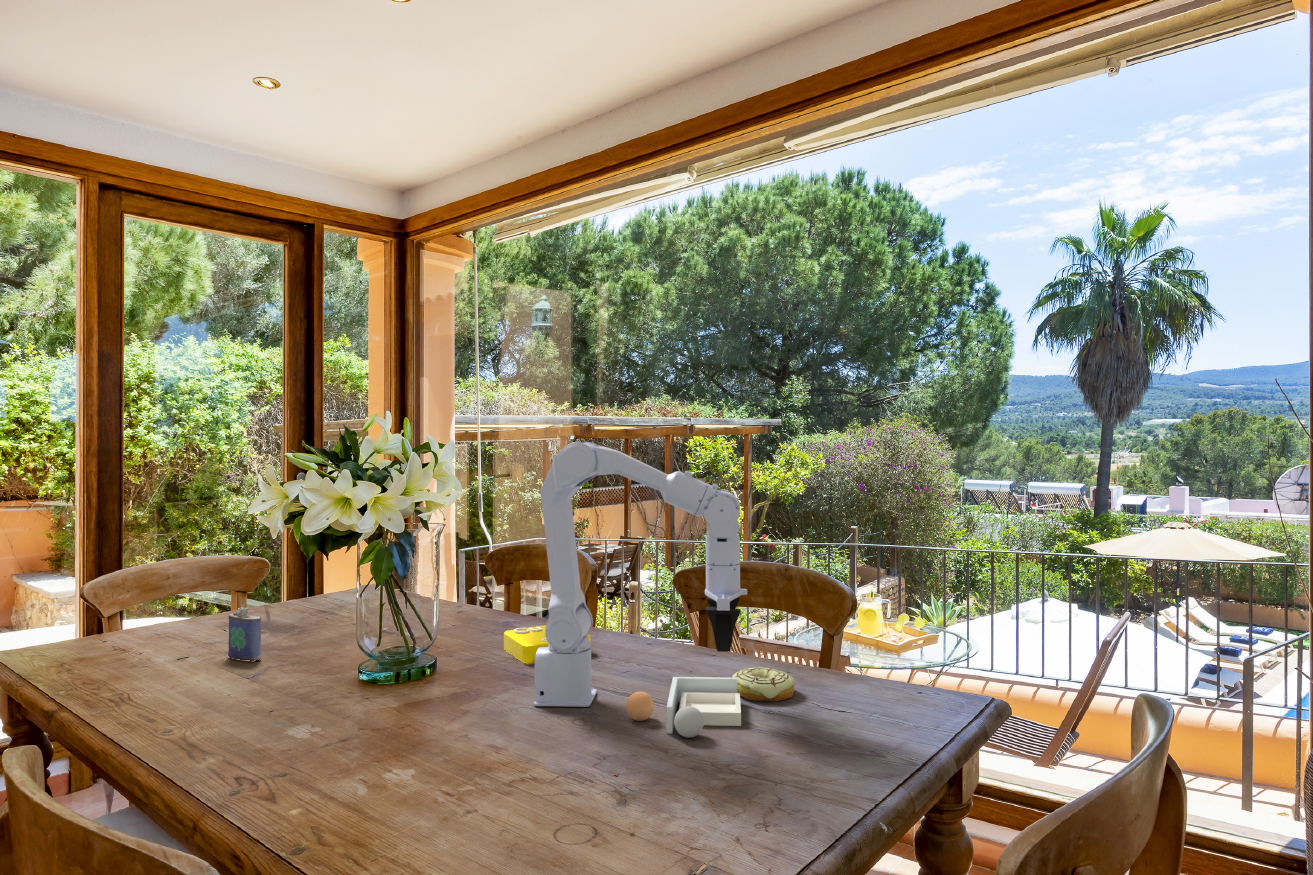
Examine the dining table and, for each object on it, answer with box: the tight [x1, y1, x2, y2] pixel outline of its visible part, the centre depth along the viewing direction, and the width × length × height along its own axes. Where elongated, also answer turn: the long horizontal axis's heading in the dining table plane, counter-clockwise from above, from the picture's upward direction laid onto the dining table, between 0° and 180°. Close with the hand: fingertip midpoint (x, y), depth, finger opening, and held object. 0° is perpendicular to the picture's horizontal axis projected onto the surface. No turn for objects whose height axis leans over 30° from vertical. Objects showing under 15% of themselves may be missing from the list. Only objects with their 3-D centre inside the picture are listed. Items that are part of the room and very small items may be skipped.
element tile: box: [503, 624, 592, 664], centre depth 164 cm, size 15×15×5 cm
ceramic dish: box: [678, 692, 742, 727], centre depth 125 cm, size 10×10×2 cm
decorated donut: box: [731, 666, 796, 702], centre depth 135 cm, size 10×11×4 cm
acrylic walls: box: [666, 676, 737, 735], centre depth 124 cm, size 11×15×4 cm
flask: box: [227, 607, 262, 661], centre depth 161 cm, size 9×3×11 cm, turn 61°
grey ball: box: [674, 706, 705, 739], centre depth 116 cm, size 4×4×4 cm
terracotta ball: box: [625, 690, 655, 722], centre depth 123 cm, size 4×4×4 cm
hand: (723, 644), depth 130 cm, fingers open, 7 cm apart
